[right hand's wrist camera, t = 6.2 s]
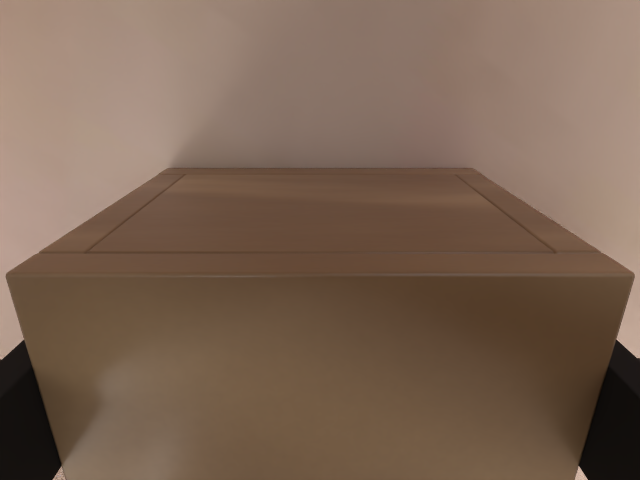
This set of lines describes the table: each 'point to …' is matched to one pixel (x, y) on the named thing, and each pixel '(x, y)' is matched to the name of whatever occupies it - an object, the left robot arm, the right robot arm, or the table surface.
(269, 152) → the table surface
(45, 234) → the table surface
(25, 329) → the cabinet
